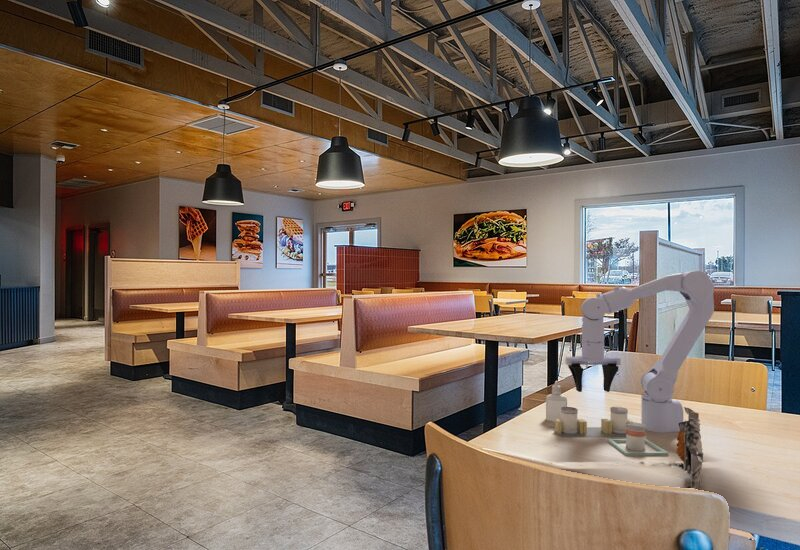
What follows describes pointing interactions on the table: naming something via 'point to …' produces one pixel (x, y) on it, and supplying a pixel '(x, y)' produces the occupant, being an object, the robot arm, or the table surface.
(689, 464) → the meal
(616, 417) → the fuse
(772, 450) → the table surface
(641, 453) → the tray
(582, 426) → the fuse holder
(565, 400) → the eye dropper bottle
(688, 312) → the robot arm
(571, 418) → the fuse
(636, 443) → the cylinder
